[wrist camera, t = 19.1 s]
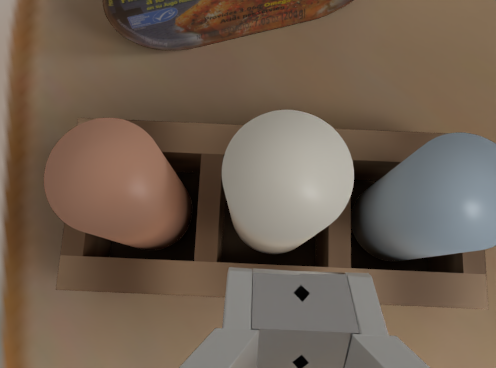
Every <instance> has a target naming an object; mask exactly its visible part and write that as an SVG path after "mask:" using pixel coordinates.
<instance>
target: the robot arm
mask: <svg viewBox="0 0 496 368" xmlns="http://www.w3.org/2000/svg"><path fill="white" fill-rule="evenodd" d="M179 368H430V367H429V366H428V365H427V364H426V363H425V362H423V361H422V360H421V359H420V358H419V357H418V356H417V355H416V354H415V353H414V352H413V351H412V350H411V349H410V348H409V347H407V346H406V345H405V344H404V343H403V342H402V341H401V340H400V339H399V338H398V337H397V336H389V334H388V331H387V327H386V324H385V320H384V317H383V314H382V310H381V307H380V303H379V300H378V297H377V293H376V290H375V286H374V283H373V279H372V276H371V275H370V274H369V273H348V272H345V273H342V272H313V271H287V270H272V269H257V268H253V274H252V269H248V268H235V267H229V269H228V273H227V283H226V294H225V305H224V316H223V327H222V328H215V329H214V330H213V331H212V332H211V333H210V334H209V335H208V337H207V338H206V339H205V340H204V341H203V342H202V343H201V344H200V345H199V346H198V347H197V349H196V350H195V351H194V352H193V353H192V354H191V355H190V356H189V357H188V358H187V359H186V361H185V362H184V363H183V364H182V365H181V366H180V367H179Z"/></svg>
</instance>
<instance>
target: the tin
mask: <svg viewBox="0 0 496 368" xmlns="http://www.w3.org/2000/svg"><path fill="white" fill-rule="evenodd" d="M352 1H353V0H103V7H104V11H105V14H106V17H107V19H108V20H109V22H110V23H111V25H112V26H113V27H114V28H115V30H116V31H117V32H119V33H120V34H121V35H122V36H124V37H125V38H127V39H129V40H131V41H133V42H135V43H137V44H140V45H142V46H146V47H150V48H154V49H161V50H184V49H191V48H196V47H201V46H205V45H209V44H213V43H217V42H222V41H226V40H230V39H234V38H238V37H242V36H246V35H251V34H255V33H259V32H263V31H267V30H272V29H276V28H280V27H284V26H289V25H293V24H297V23H302V22H306V21H310V20H314V19H317V18H320V17H323V16H326V15H328V14H330V13H332V12H334V11H336V10H338V9H340V8H342V7H344V6H345V5H347V4H349V3H350V2H352Z"/></svg>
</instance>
